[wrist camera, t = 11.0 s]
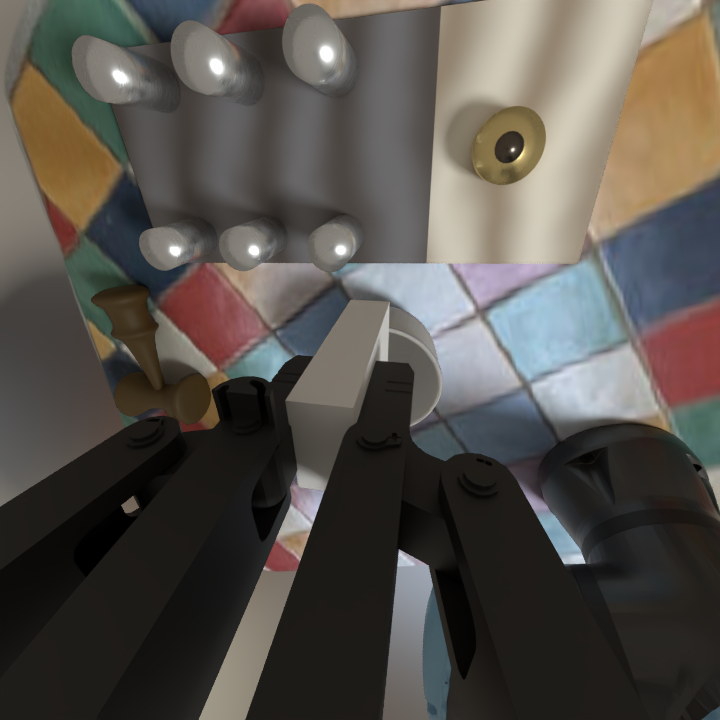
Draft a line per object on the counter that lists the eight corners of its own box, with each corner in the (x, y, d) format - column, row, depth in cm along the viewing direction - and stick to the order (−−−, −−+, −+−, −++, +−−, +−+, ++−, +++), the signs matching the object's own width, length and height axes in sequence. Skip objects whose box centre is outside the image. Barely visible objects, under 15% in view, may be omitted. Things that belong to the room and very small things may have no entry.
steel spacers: (357, 36, 22) (335, -1, 17) (365, 252, 29) (351, 272, 24) (135, 62, 25) (62, 38, 20) (192, 253, 33) (148, 270, 28)
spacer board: (651, -17, 19) (659, -23, 19) (574, 261, 28) (577, 263, 27) (101, 54, 26) (93, 51, 25) (169, 260, 34) (164, 262, 34)
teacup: (347, 279, 32) (325, 311, 25) (457, 311, 32) (463, 352, 25) (323, 390, 39) (301, 437, 33) (411, 417, 39) (407, 470, 32)
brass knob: (535, 100, 22) (545, 94, 20) (536, 172, 24) (546, 174, 22) (467, 123, 24) (470, 119, 21) (473, 190, 26) (477, 193, 23)
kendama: (177, 280, 36) (224, 424, 46) (105, 280, 38) (165, 418, 48) (134, 298, 31) (197, 455, 41) (53, 297, 33) (132, 447, 43)
